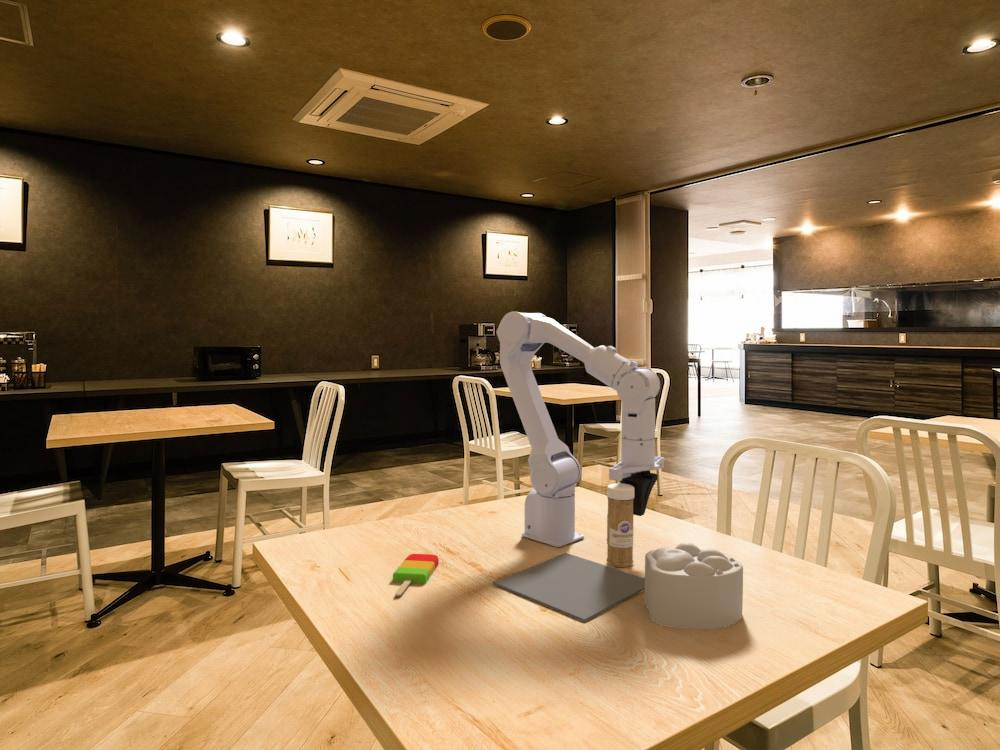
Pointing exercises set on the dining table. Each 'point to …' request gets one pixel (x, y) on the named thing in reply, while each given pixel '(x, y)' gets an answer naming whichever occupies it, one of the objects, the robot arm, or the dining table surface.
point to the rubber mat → (574, 586)
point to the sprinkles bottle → (620, 524)
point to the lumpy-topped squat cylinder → (693, 587)
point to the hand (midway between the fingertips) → (637, 514)
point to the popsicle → (415, 570)
